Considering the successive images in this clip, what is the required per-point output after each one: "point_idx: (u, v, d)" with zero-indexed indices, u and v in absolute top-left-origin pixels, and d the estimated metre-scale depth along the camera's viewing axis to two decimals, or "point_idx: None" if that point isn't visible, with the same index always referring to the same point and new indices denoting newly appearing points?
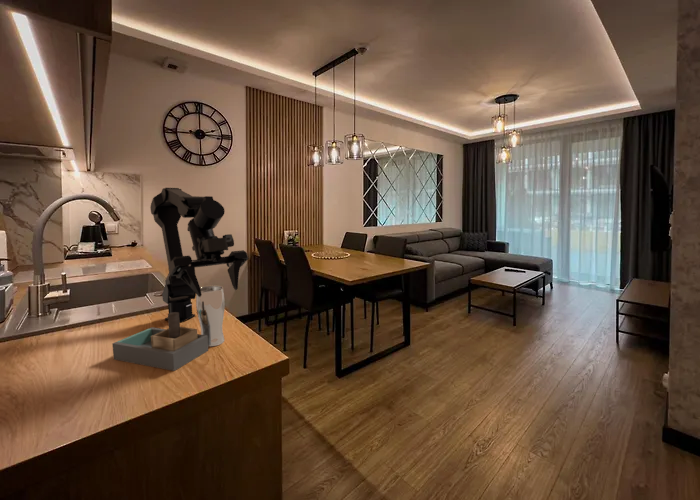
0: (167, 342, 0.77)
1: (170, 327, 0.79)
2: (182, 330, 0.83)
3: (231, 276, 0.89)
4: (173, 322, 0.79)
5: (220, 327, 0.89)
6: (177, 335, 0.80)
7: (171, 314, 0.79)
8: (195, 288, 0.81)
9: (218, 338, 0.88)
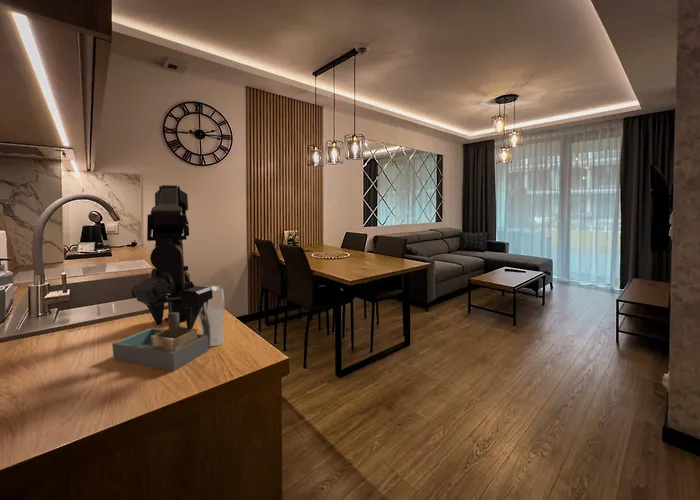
0: (167, 342, 0.77)
1: (170, 327, 0.79)
2: (182, 330, 0.83)
3: None
4: (173, 322, 0.79)
5: (220, 327, 0.89)
6: (177, 335, 0.80)
7: (171, 314, 0.79)
8: None
9: (218, 338, 0.88)
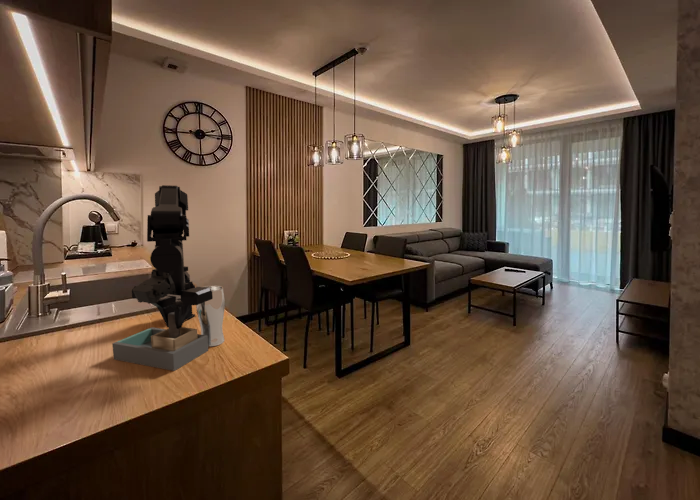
0: (167, 342, 0.77)
1: (170, 327, 0.79)
2: (182, 330, 0.83)
3: None
4: (173, 322, 0.79)
5: (220, 327, 0.89)
6: (177, 335, 0.80)
7: (171, 314, 0.79)
8: None
9: (218, 338, 0.88)
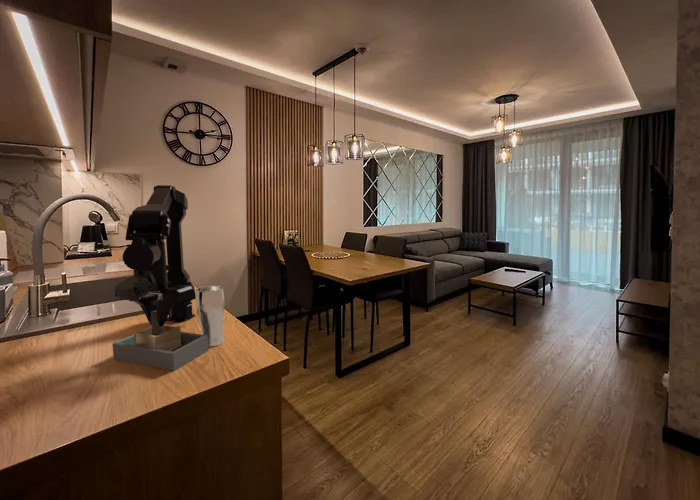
0: (149, 339, 0.78)
1: (153, 324, 0.80)
2: (165, 328, 0.85)
3: None
4: (156, 320, 0.80)
5: (220, 327, 0.89)
6: (160, 332, 0.81)
7: (154, 311, 0.81)
8: None
9: (218, 338, 0.88)
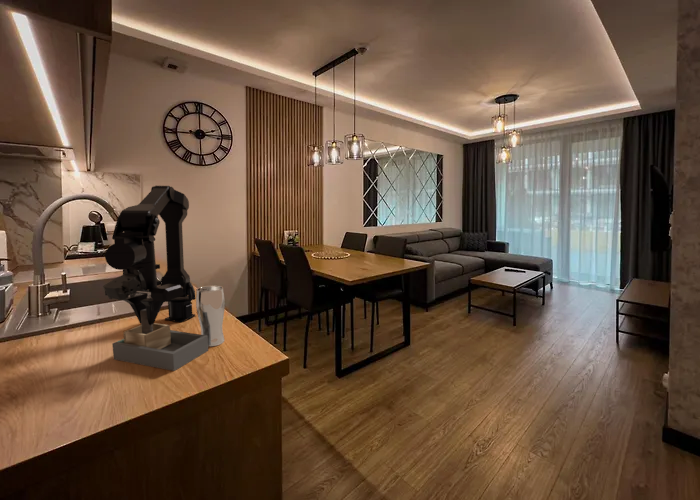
0: (139, 337, 0.79)
1: (142, 323, 0.81)
2: (155, 326, 0.86)
3: None
4: (145, 318, 0.81)
5: (220, 327, 0.89)
6: (149, 331, 0.82)
7: (143, 310, 0.82)
8: None
9: (218, 338, 0.88)
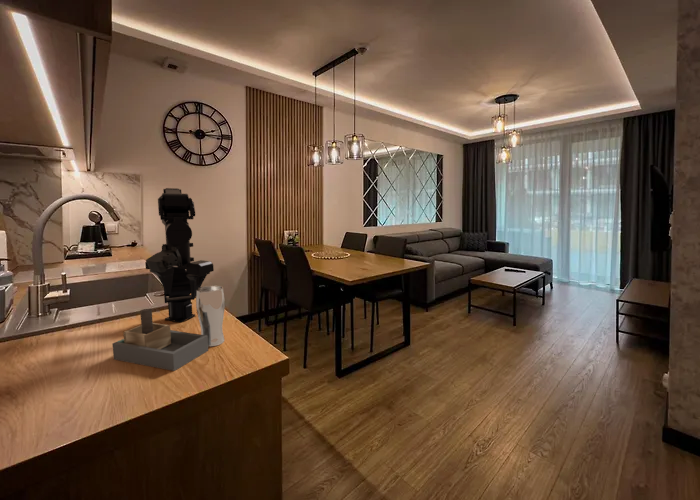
0: (139, 337, 0.79)
1: (142, 323, 0.81)
2: (155, 326, 0.86)
3: None
4: (145, 318, 0.81)
5: (220, 327, 0.89)
6: (149, 331, 0.82)
7: (143, 310, 0.82)
8: None
9: (218, 338, 0.88)
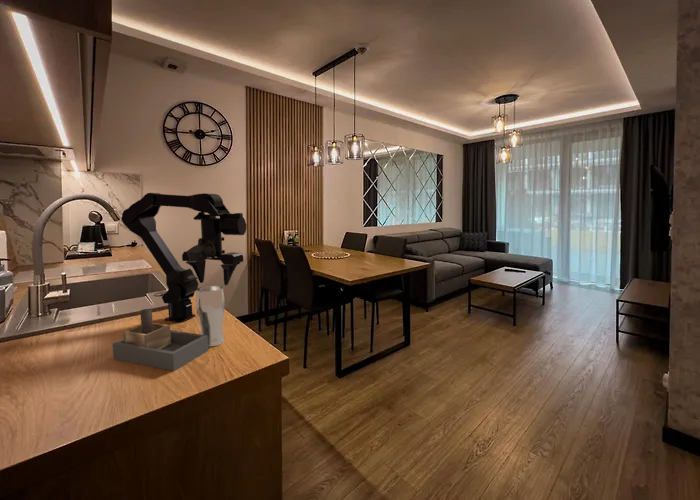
0: (139, 337, 0.79)
1: (142, 323, 0.81)
2: (155, 326, 0.86)
3: None
4: (145, 318, 0.81)
5: (220, 327, 0.89)
6: (149, 331, 0.82)
7: (143, 310, 0.82)
8: None
9: (218, 338, 0.88)
